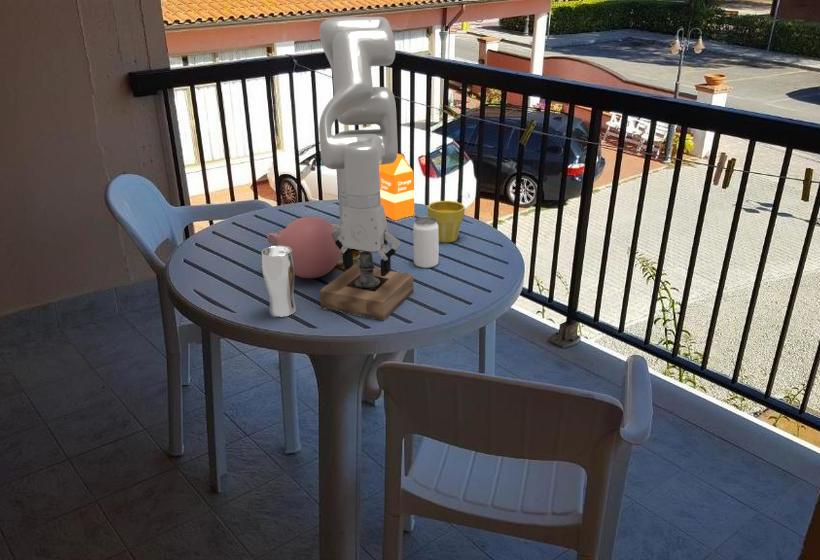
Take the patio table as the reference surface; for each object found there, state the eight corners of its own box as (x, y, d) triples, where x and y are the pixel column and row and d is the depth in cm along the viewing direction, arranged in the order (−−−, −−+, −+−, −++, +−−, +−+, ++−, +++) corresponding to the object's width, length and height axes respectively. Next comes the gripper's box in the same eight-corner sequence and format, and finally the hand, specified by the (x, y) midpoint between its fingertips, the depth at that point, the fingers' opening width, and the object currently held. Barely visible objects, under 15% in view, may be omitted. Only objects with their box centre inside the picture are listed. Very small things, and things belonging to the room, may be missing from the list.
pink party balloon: (288, 258, 185) (282, 203, 179) (353, 268, 178) (350, 212, 171) (254, 279, 172) (247, 222, 166) (323, 292, 165) (318, 232, 158)
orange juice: (397, 209, 221) (396, 147, 213) (414, 216, 214) (413, 153, 206) (378, 214, 216) (375, 152, 208) (394, 221, 210) (393, 157, 202)
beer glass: (284, 322, 151) (277, 259, 145) (261, 314, 155) (253, 253, 149) (304, 309, 157) (299, 248, 151) (281, 302, 160) (275, 242, 154)
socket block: (321, 308, 157) (319, 290, 155) (354, 281, 170) (353, 264, 169) (383, 320, 151) (382, 302, 149) (413, 291, 164) (413, 274, 162)
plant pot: (465, 233, 200) (466, 200, 196) (462, 246, 191) (462, 212, 187) (430, 231, 202) (430, 199, 198) (425, 244, 193) (425, 211, 188)
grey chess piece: (377, 302, 157) (375, 253, 152) (352, 300, 158) (349, 252, 153) (383, 291, 163) (381, 244, 158) (359, 289, 164) (356, 242, 159)
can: (442, 261, 181) (442, 218, 176) (432, 270, 176) (432, 226, 171) (419, 257, 184) (419, 215, 179) (409, 266, 178) (408, 222, 173)
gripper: (320, 199, 151) (326, 271, 158) (391, 208, 144) (393, 283, 151) (337, 190, 157) (342, 259, 164) (406, 198, 150) (408, 270, 157)
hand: (366, 270), depth 158 cm, fingers open, 9 cm apart
